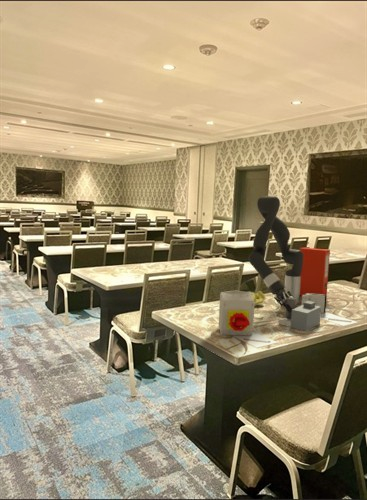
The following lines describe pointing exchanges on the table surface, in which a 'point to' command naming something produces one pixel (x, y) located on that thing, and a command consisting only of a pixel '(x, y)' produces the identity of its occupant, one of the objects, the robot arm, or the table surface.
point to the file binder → (314, 271)
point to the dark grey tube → (292, 304)
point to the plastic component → (258, 298)
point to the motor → (303, 316)
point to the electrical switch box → (236, 313)
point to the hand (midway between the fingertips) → (293, 310)
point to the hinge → (316, 300)
